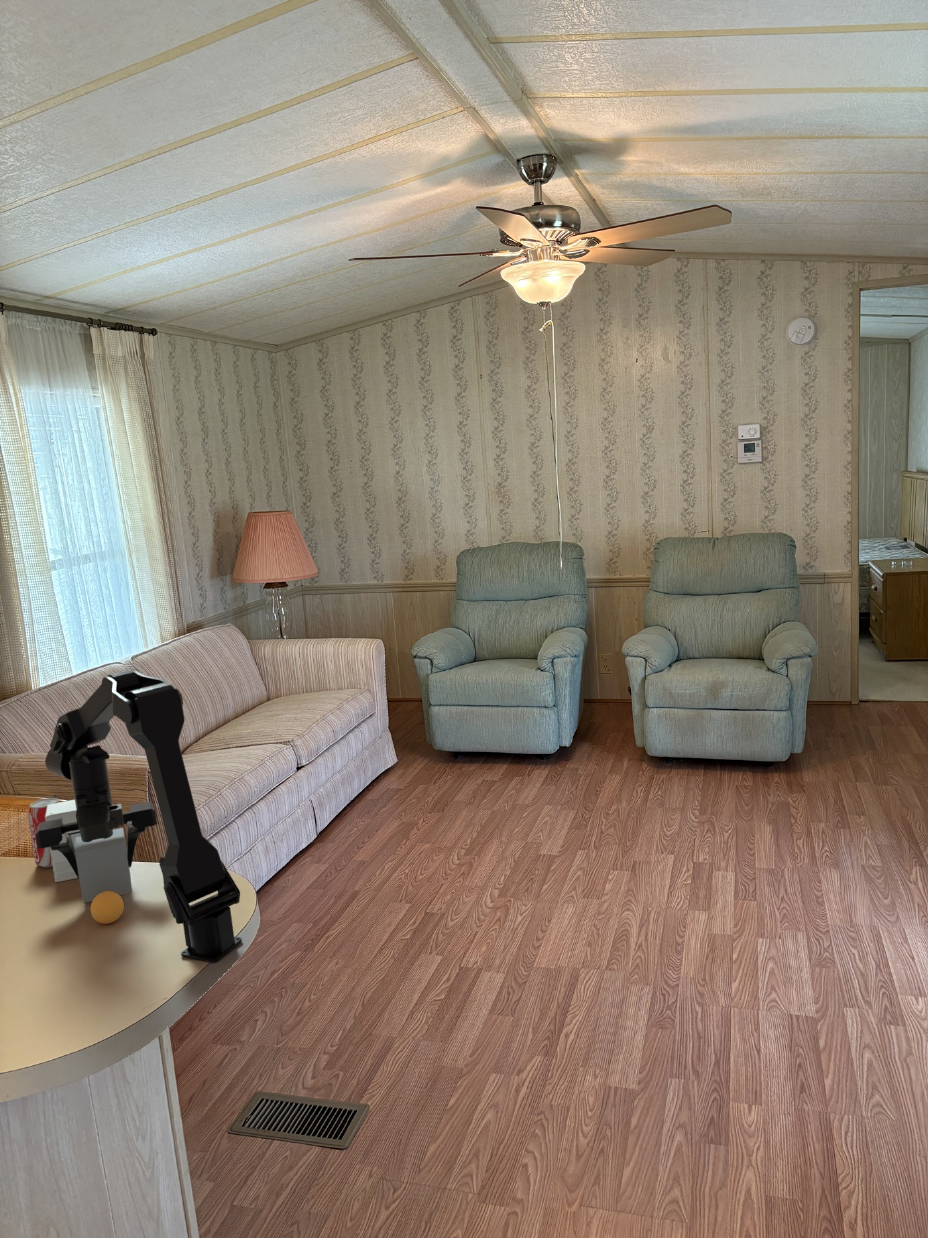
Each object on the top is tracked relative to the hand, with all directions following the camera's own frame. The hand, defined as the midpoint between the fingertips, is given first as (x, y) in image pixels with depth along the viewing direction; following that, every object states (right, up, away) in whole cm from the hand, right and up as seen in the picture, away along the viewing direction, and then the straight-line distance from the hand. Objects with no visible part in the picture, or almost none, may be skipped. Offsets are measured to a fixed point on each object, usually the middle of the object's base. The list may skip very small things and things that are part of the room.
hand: (104, 872), depth 162 cm
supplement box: (-10, -4, +13) cm, 17 cm away
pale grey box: (0, -3, 0) cm, 3 cm away
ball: (+4, -3, -9) cm, 10 cm away
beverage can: (-17, -3, +18) cm, 25 cm away
